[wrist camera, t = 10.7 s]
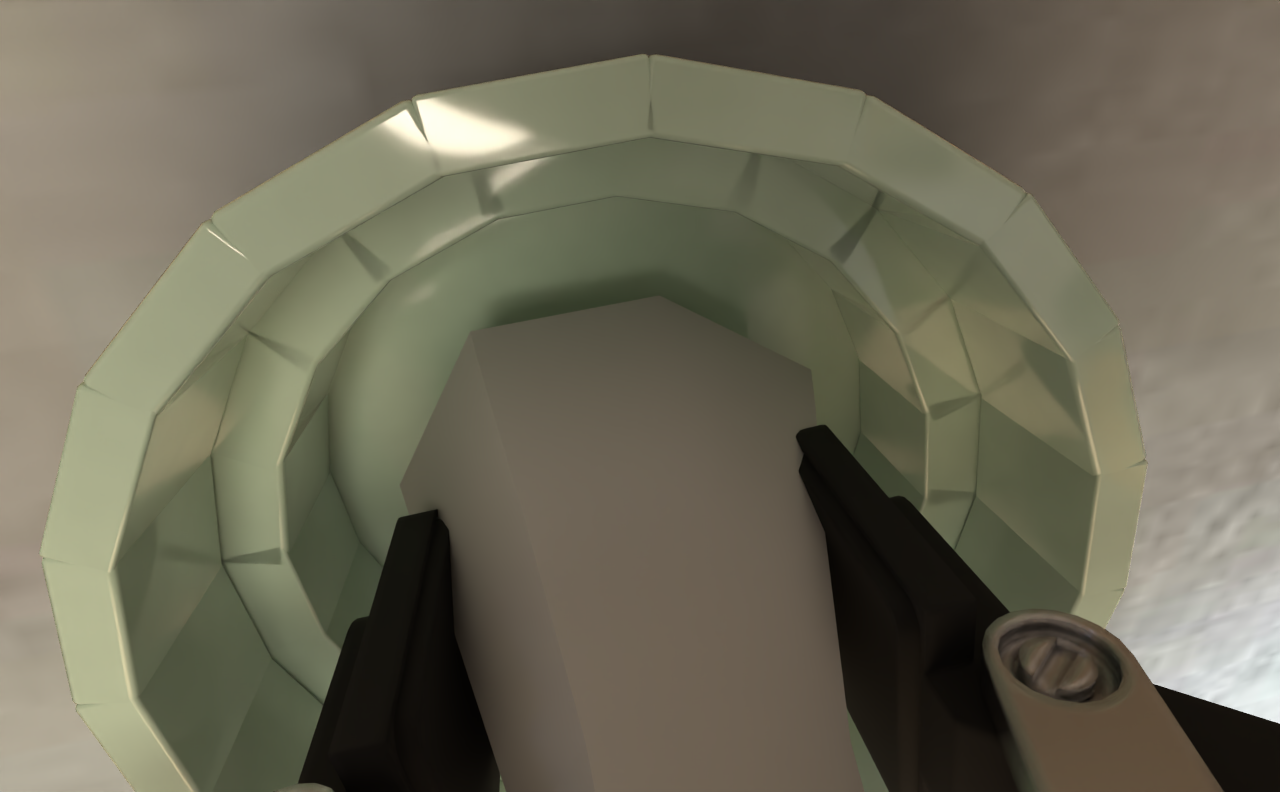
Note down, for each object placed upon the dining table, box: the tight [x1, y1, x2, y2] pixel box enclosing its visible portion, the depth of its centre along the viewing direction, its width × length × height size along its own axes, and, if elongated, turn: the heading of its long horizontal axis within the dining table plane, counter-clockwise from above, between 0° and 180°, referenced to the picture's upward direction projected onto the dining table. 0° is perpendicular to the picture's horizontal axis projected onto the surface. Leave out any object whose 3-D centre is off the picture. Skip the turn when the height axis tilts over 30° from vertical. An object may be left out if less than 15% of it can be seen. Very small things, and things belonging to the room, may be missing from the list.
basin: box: [39, 54, 1148, 792], centre depth 12 cm, size 13×13×6 cm
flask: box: [400, 295, 864, 792], centre depth 8 cm, size 7×7×10 cm
